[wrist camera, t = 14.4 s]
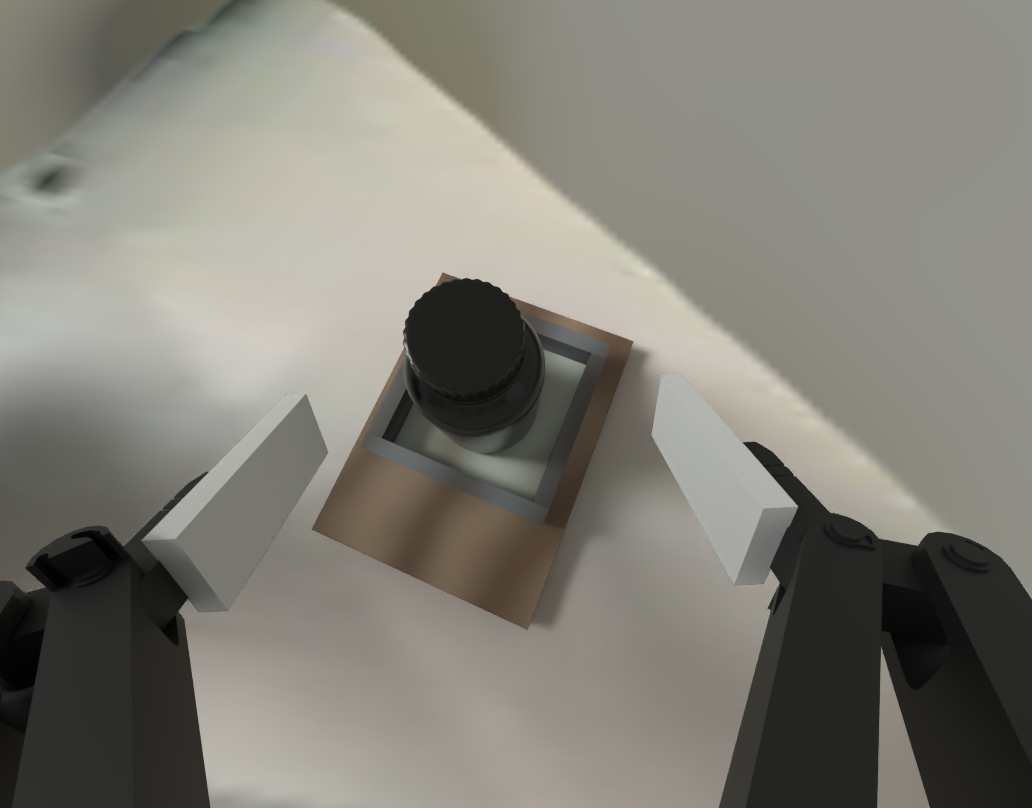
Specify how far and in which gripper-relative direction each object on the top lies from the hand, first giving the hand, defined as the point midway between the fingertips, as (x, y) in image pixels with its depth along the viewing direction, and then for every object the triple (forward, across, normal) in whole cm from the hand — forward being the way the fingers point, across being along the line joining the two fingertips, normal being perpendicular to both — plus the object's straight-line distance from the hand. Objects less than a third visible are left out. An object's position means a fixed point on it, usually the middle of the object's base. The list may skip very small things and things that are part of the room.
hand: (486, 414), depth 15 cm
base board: (+10, -1, -8) cm, 13 cm away
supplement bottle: (+10, -1, -6) cm, 12 cm away
